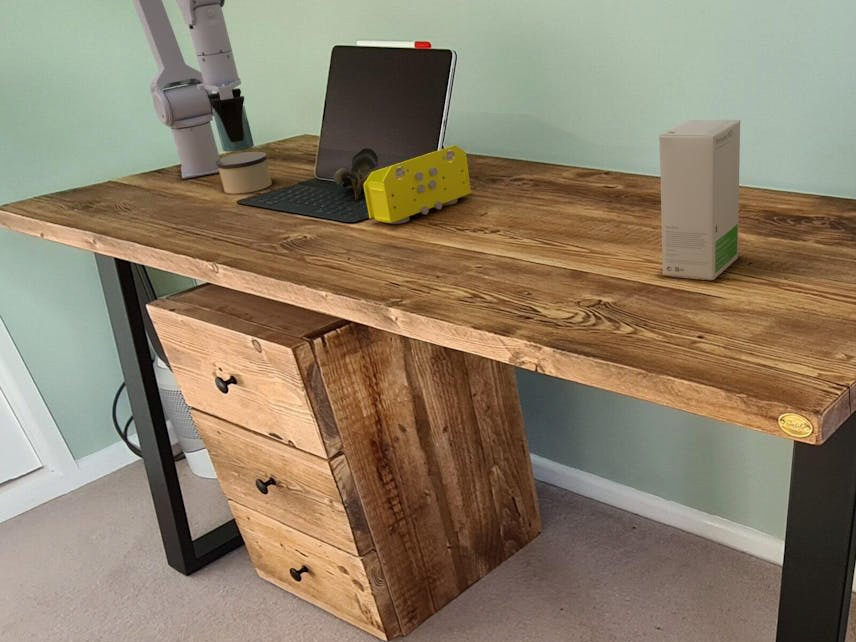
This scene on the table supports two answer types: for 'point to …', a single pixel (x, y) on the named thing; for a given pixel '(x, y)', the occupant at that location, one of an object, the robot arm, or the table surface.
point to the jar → (244, 172)
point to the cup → (224, 138)
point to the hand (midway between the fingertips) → (236, 138)
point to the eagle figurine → (357, 171)
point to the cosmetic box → (700, 197)
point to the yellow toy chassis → (417, 185)
